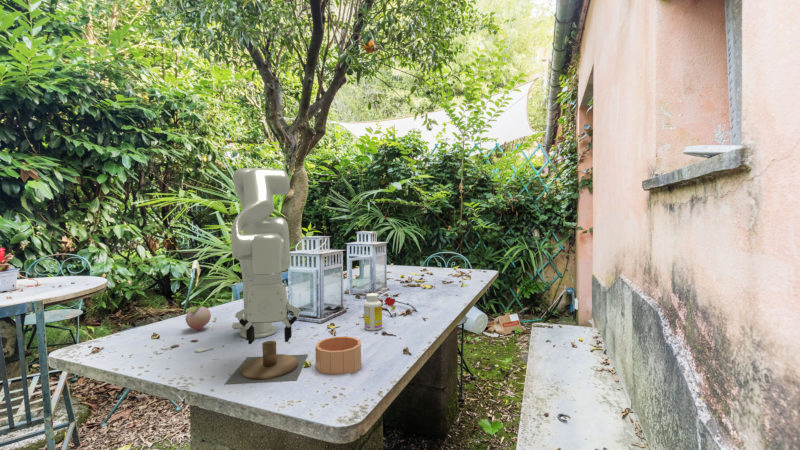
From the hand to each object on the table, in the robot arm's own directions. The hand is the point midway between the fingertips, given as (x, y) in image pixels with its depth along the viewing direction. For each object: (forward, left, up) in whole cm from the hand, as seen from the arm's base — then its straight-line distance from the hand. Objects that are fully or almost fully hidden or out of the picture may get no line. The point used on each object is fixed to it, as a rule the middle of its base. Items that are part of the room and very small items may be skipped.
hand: (269, 341), depth 102 cm
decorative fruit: (-37, +42, -8) cm, 56 cm away
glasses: (+38, +59, -9) cm, 70 cm away
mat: (0, +1, -8) cm, 8 cm away
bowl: (+19, +1, -8) cm, 20 cm away
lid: (0, +1, -8) cm, 8 cm away
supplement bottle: (+29, +35, -8) cm, 46 cm away
